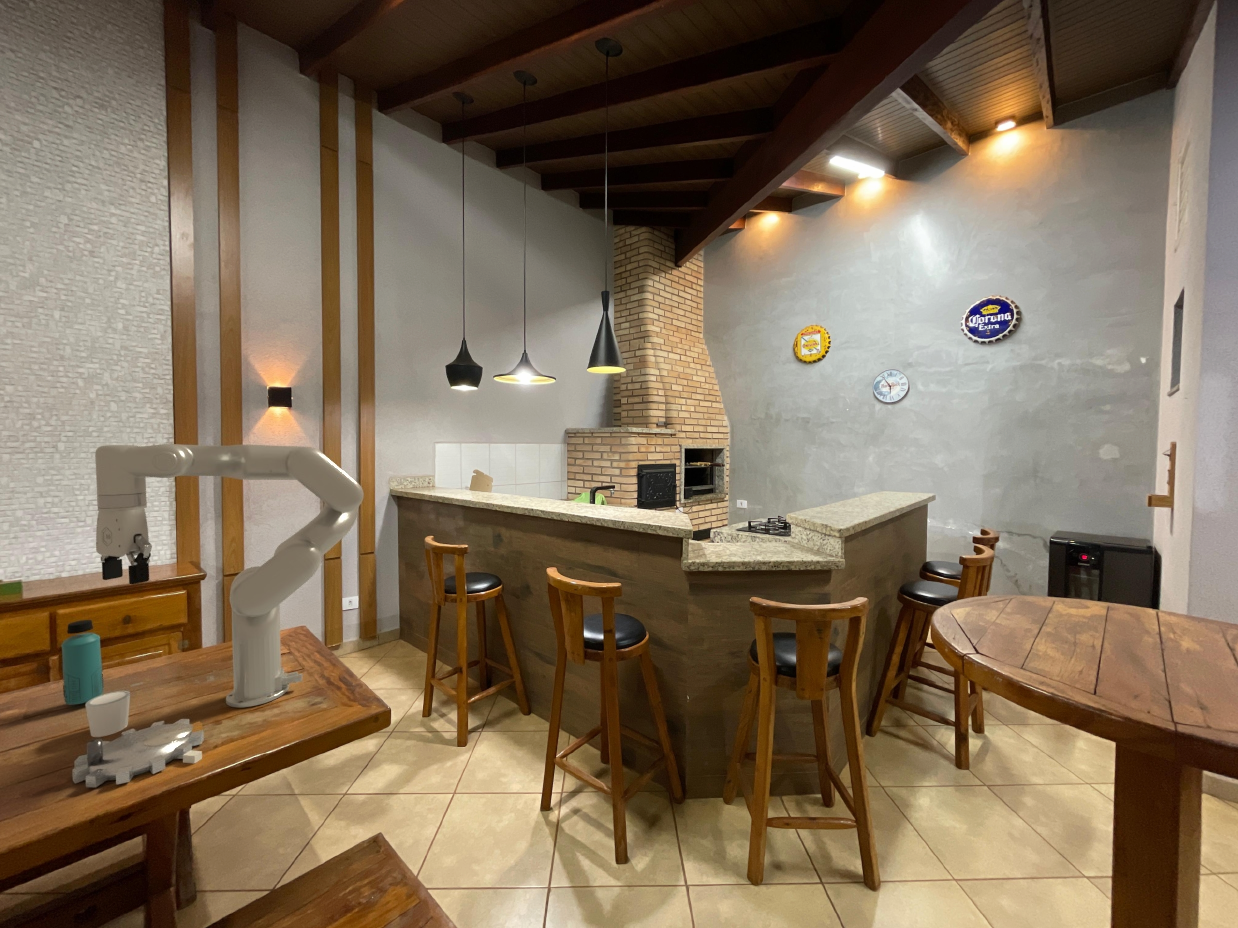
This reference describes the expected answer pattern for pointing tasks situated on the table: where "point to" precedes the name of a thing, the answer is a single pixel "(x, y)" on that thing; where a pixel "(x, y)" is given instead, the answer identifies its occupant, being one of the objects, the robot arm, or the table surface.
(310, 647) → the table surface
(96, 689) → the beverage bottle
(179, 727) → the index wheel
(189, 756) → the block
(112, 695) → the white cup
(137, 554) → the robot arm
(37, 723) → the table surface
